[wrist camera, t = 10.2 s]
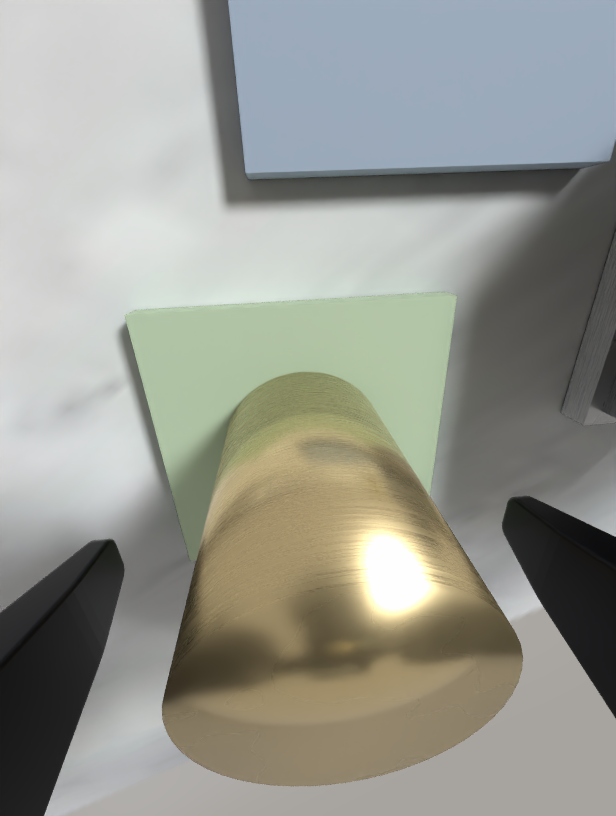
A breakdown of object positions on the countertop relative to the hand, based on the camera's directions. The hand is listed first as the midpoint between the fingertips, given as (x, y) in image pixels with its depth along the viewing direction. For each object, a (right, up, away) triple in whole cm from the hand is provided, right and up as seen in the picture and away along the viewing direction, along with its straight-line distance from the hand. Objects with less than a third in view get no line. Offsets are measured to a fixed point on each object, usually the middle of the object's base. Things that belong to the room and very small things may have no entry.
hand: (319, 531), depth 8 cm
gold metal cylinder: (0, +2, +3) cm, 4 cm away
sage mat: (0, +2, +4) cm, 4 cm away
